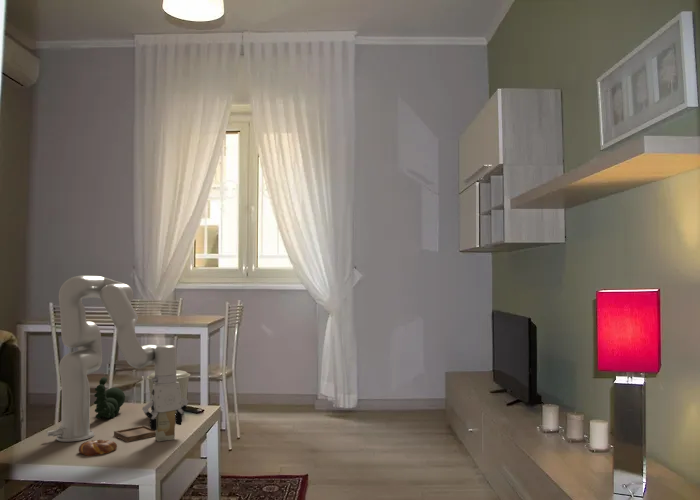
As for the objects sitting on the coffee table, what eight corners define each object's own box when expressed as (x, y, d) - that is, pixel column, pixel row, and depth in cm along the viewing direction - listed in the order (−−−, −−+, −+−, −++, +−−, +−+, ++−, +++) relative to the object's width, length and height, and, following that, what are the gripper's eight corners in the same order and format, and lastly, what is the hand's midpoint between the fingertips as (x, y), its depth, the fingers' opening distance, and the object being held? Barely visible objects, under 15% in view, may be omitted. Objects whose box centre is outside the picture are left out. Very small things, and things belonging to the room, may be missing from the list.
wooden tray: (127, 441, 208) (127, 437, 208) (113, 435, 216) (113, 431, 216) (159, 435, 216) (159, 430, 216) (144, 429, 225) (144, 425, 225)
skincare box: (157, 442, 207) (157, 407, 208) (155, 439, 211) (155, 405, 212) (175, 439, 210) (175, 405, 211) (173, 436, 214) (173, 403, 214)
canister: (179, 419, 241) (179, 368, 242) (138, 418, 243) (138, 367, 244) (197, 409, 258) (197, 362, 259) (159, 408, 261) (159, 361, 262)
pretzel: (118, 446, 204) (118, 435, 204) (115, 455, 193) (115, 443, 194) (81, 448, 201) (81, 438, 201) (75, 458, 190) (76, 446, 190)
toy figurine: (112, 426, 237) (130, 407, 262) (110, 380, 237) (129, 365, 262) (88, 427, 237) (108, 408, 262) (87, 381, 236) (107, 366, 261)
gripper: (147, 384, 203) (148, 433, 202) (192, 377, 215) (192, 424, 214) (138, 381, 208) (138, 430, 207) (182, 375, 220) (183, 420, 219)
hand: (166, 427), depth 211 cm, fingers open, 9 cm apart
